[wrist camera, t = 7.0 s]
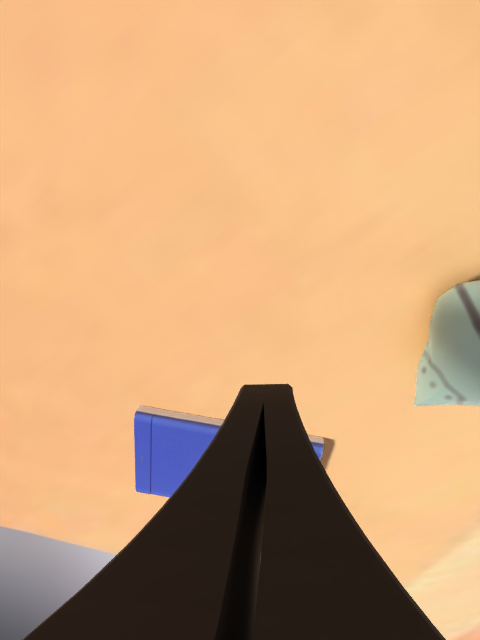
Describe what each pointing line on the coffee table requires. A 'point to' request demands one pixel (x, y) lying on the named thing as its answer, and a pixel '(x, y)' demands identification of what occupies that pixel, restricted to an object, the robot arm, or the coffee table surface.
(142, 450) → the hard drive
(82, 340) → the coffee table surface
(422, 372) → the grey-green rounded piece
